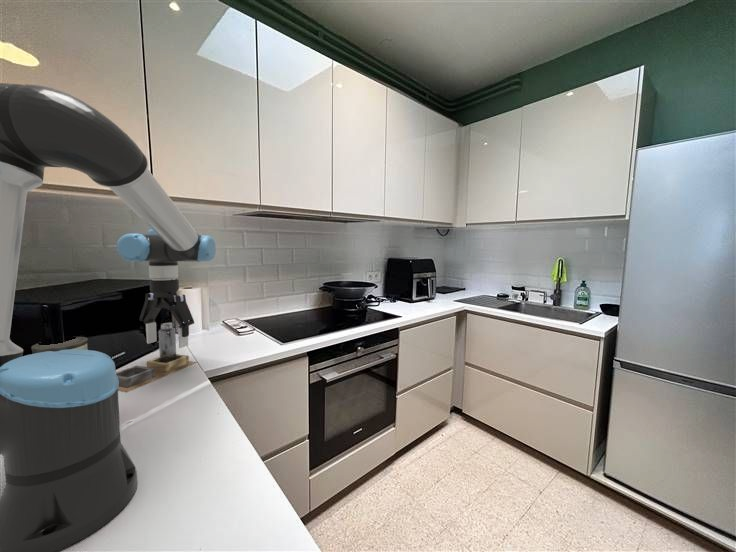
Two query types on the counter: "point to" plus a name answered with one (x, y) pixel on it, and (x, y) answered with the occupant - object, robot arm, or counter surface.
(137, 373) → the tool stand
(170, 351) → the grey cylinder
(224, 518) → the counter surface
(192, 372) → the counter surface
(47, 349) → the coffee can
